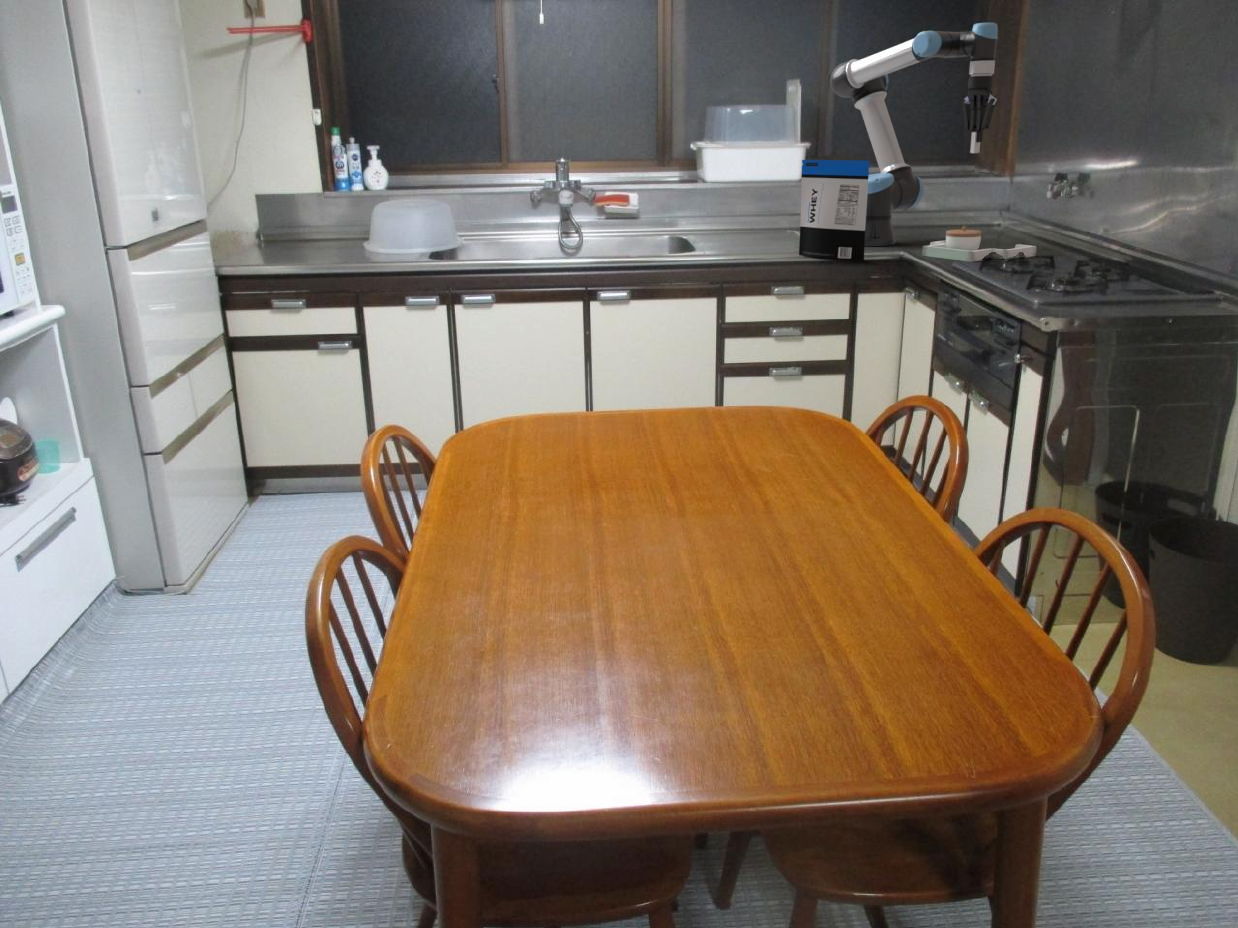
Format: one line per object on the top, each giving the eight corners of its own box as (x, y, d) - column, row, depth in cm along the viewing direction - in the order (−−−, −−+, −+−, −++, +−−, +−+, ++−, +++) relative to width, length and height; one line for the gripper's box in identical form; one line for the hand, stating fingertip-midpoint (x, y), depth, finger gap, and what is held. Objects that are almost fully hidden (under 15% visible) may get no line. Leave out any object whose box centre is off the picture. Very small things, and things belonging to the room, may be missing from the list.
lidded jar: (974, 254, 328) (977, 224, 325) (983, 258, 318) (986, 227, 314) (940, 254, 328) (943, 224, 325) (948, 259, 318) (950, 228, 315)
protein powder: (855, 262, 316) (860, 161, 306) (790, 256, 332) (793, 160, 322) (871, 259, 322) (877, 160, 312) (807, 253, 338) (810, 159, 329)
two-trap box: (909, 254, 330) (910, 244, 329) (959, 247, 343) (960, 238, 342) (984, 263, 307) (985, 253, 306) (1035, 256, 320) (1036, 246, 319)
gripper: (1006, 74, 322) (999, 153, 329) (972, 76, 332) (965, 152, 340) (991, 74, 318) (983, 153, 326) (956, 76, 328) (950, 153, 336)
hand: (974, 153), depth 333 cm, fingers closed
